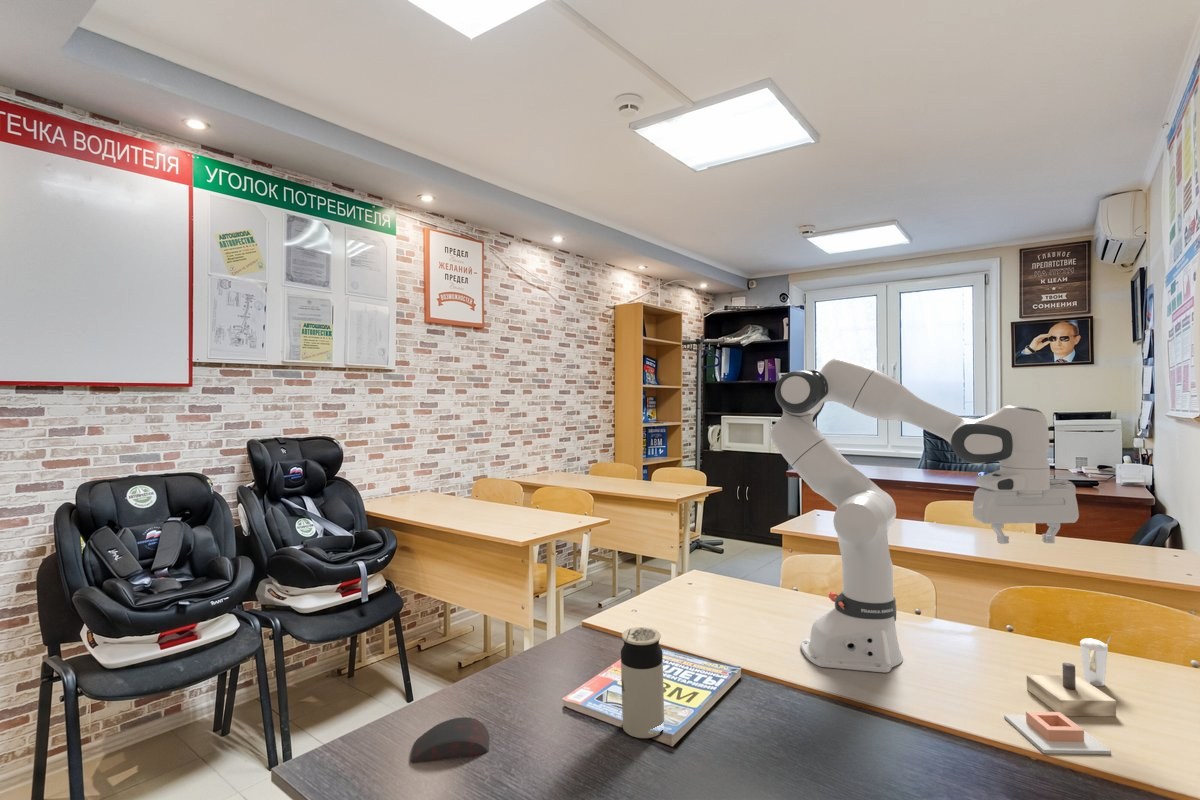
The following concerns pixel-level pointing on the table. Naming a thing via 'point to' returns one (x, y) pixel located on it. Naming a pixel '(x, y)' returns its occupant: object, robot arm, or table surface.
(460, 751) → the computer mouse
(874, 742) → the table surface
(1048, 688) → the peg stand
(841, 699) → the table surface
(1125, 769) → the table surface
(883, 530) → the robot arm
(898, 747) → the table surface
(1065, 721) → the pink rectangular frame
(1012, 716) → the mat
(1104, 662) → the milkshake
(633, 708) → the travel mug
